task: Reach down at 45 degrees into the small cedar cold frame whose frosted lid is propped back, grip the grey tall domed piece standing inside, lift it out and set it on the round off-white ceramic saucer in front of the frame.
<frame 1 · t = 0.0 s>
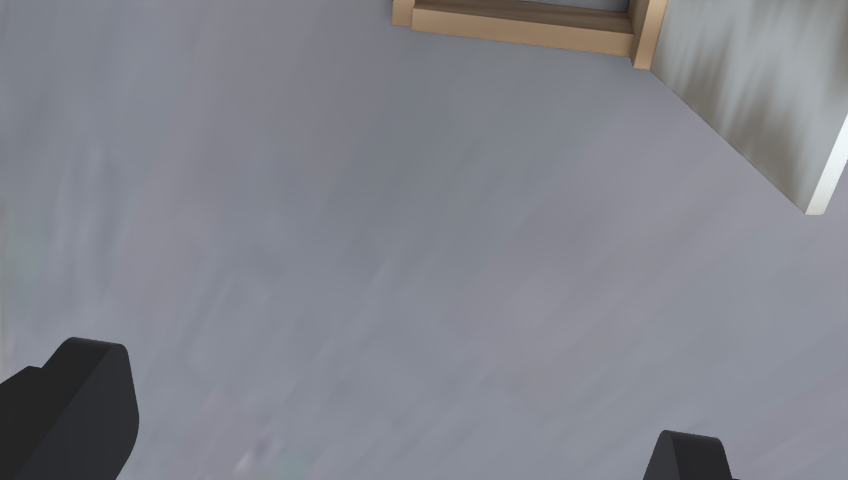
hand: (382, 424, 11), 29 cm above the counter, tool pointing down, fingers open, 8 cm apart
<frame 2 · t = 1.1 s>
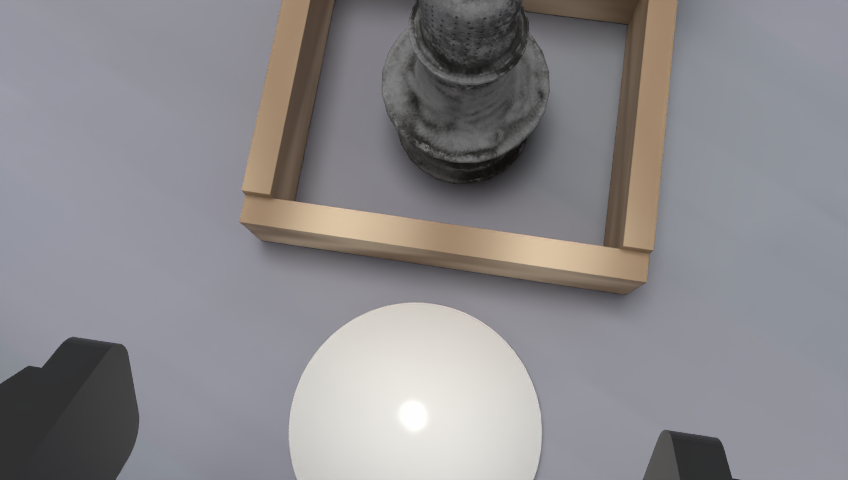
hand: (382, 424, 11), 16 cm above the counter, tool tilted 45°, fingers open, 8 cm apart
cold frame: (463, 119, 29), on the counter
saucer: (415, 427, 27), on the counter
grey tall domed piece: (463, 121, 29), resting in cold frame
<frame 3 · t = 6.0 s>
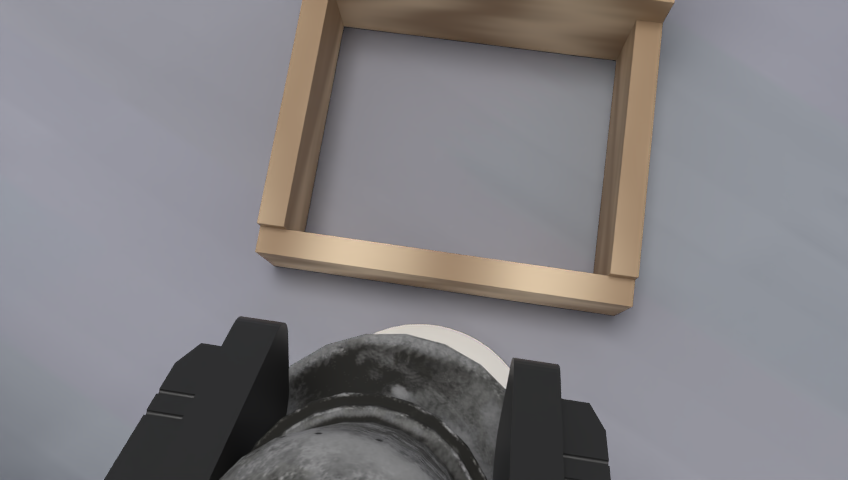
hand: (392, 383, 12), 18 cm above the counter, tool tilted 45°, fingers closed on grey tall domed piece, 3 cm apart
cold frame: (462, 151, 31), on the counter
saucer: (419, 440, 29), on the counter
grey tall domed piece: (397, 475, 17), point 12 cm above the counter, touching gripper
when the fingers open (7 cm above the counter, at t = 8.2 s): grey tall domed piece drops 1 cm, resting on saucer.
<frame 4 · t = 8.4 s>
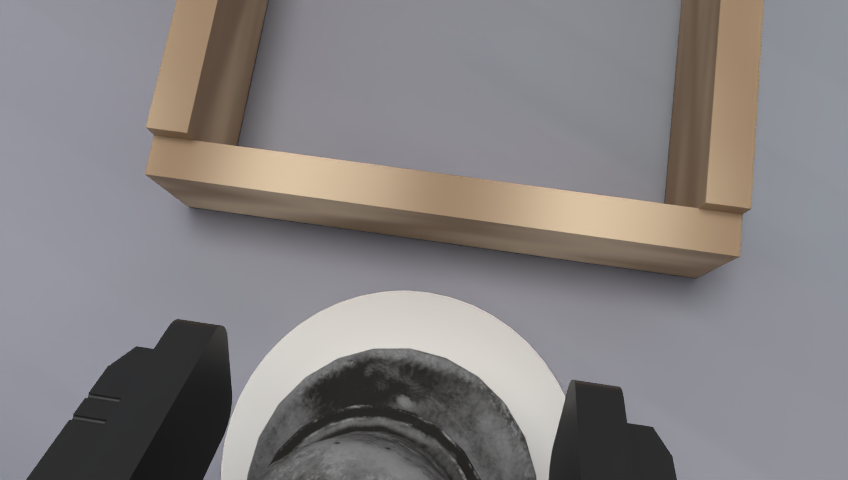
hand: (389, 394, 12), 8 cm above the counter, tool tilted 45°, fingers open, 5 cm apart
cold frame: (466, 41, 21), on the counter
saucer: (402, 468, 19), on the counter
grey tall domed piece: (402, 476, 18), resting on saucer
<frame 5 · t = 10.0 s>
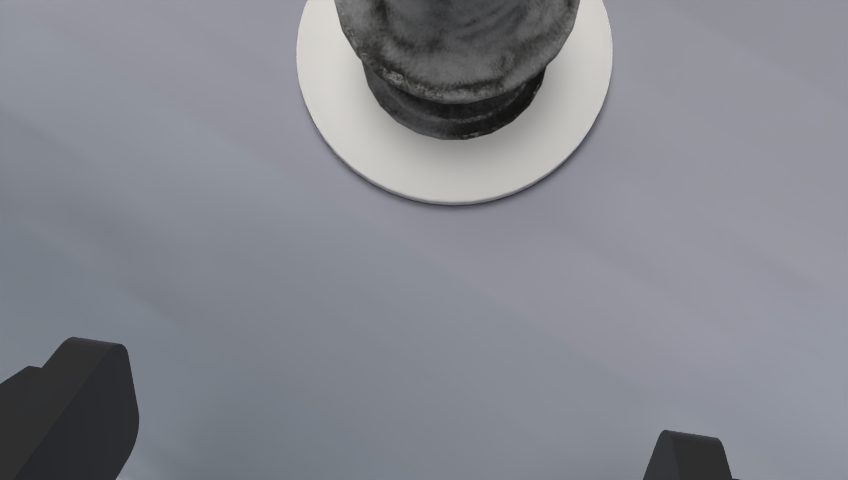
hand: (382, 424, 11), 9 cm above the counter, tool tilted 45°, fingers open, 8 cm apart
saucer: (453, 56, 22), on the counter
grey tall domed piece: (454, 55, 21), resting on saucer
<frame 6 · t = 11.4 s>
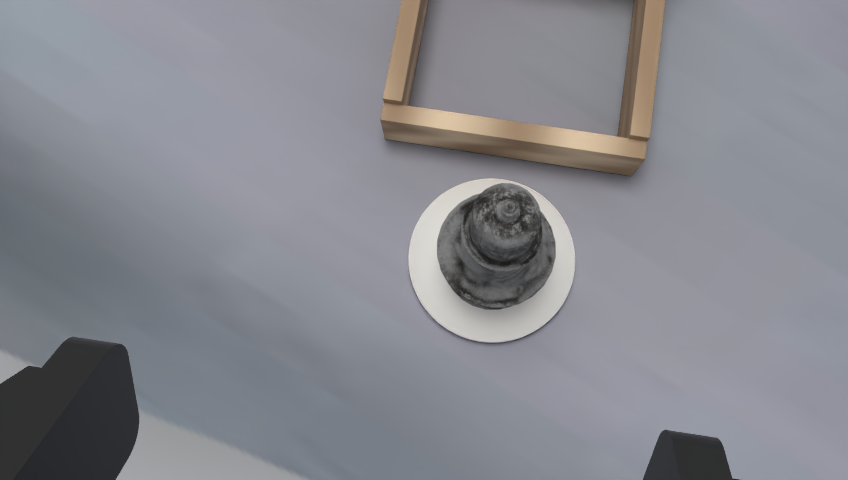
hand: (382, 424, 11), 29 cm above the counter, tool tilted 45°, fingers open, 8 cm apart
cold frame: (521, 59, 43), on the counter
saucer: (490, 260, 40), on the counter
grey tall domed piece: (491, 261, 40), resting on saucer
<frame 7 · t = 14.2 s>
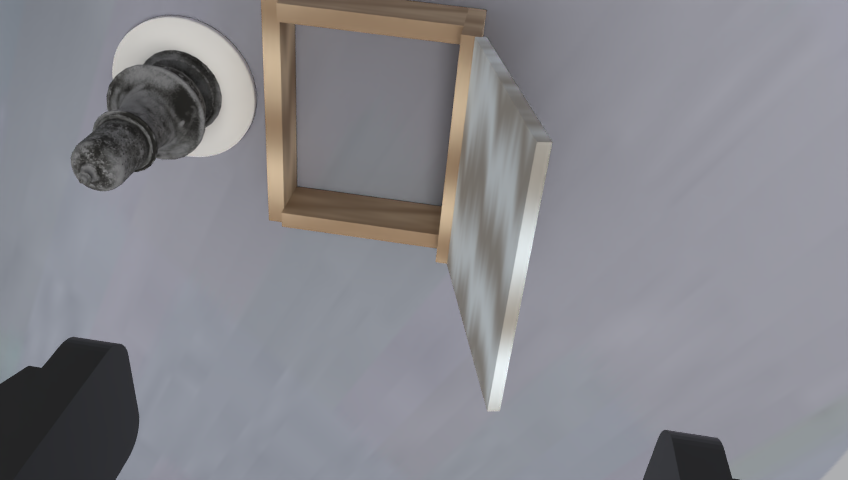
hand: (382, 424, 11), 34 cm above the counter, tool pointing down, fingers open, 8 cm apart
cold frame: (375, 112, 45), on the counter
saucer: (186, 87, 46), on the counter
grey tall domed piece: (181, 90, 46), resting on saucer
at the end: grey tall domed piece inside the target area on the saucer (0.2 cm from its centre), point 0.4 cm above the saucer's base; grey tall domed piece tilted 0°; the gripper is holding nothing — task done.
